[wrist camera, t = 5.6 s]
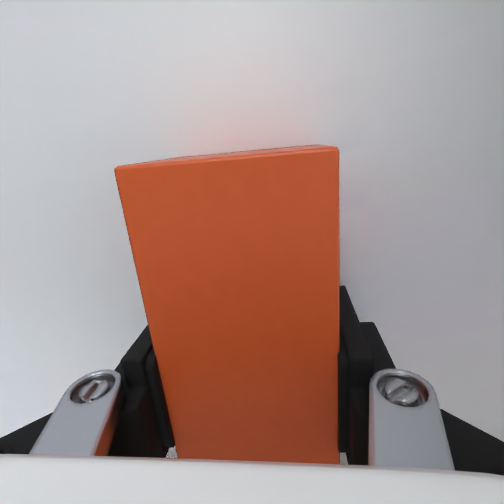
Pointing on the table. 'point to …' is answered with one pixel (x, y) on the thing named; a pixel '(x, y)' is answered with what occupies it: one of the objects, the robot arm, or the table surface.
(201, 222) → the orange rectangular block
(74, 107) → the table surface
